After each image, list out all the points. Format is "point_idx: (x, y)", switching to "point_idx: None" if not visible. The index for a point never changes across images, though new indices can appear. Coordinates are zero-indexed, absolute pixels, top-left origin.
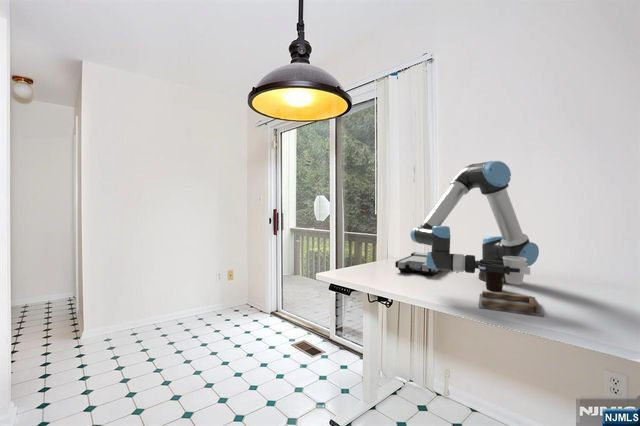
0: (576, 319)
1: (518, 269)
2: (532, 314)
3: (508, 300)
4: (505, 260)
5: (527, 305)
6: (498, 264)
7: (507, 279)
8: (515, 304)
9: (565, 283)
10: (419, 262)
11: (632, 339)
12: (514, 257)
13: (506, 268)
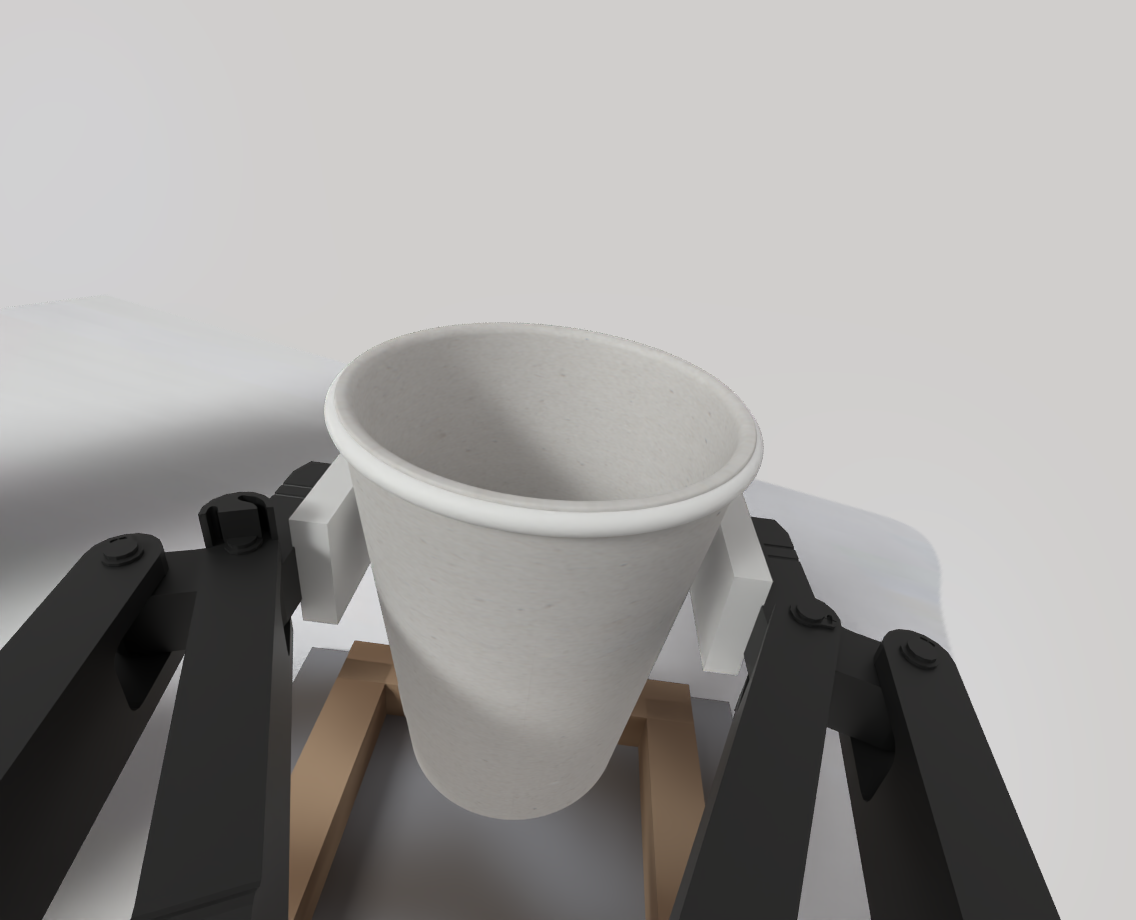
0: None
1: (784, 537)
2: None
3: (349, 907)
4: (668, 544)
5: (670, 757)
6: (281, 734)
7: (584, 774)
8: None
9: None
10: None
11: (807, 496)
12: (374, 380)
13: (944, 673)
